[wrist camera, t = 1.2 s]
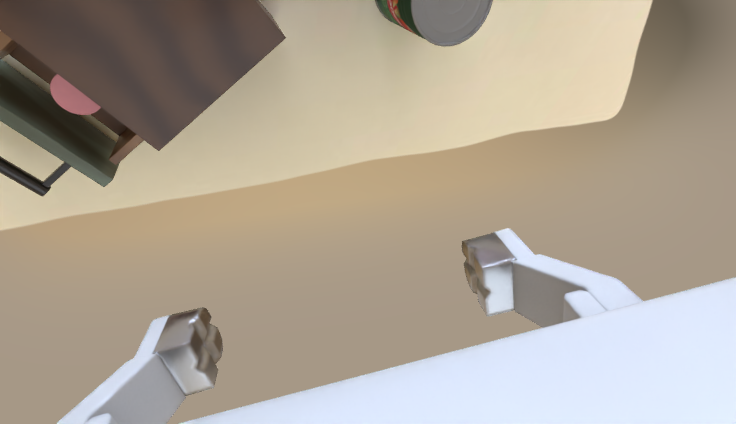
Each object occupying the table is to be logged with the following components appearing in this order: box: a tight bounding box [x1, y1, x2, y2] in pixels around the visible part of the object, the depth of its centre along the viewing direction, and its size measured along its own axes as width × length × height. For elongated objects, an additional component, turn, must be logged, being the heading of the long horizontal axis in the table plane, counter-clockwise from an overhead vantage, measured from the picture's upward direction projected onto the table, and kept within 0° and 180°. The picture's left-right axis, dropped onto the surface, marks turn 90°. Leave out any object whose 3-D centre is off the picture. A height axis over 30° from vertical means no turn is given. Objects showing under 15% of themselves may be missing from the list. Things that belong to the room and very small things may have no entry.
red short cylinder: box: [50, 74, 101, 115], centre depth 36 cm, size 4×4×5 cm
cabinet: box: [0, 0, 286, 151], centre depth 35 cm, size 16×15×9 cm
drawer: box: [0, 31, 143, 196], centre depth 36 cm, size 20×13×7 cm, turn 126°
